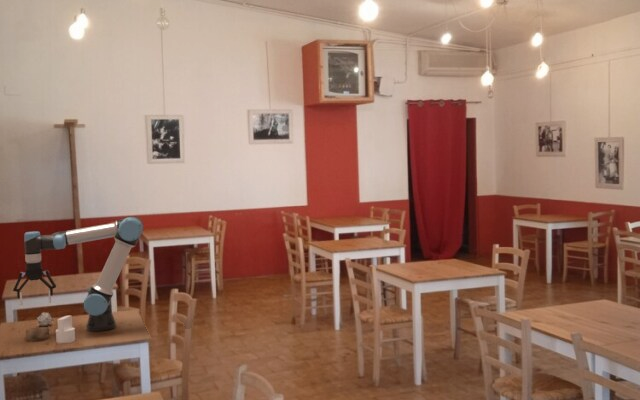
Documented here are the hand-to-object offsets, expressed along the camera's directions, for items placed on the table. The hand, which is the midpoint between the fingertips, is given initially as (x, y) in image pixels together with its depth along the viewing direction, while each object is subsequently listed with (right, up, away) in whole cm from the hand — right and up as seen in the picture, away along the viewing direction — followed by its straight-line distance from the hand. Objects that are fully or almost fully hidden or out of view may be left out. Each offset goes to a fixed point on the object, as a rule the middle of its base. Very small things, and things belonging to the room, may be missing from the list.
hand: (35, 303), depth 345 cm
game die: (-7, -18, +30) cm, 35 cm away
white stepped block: (+17, -18, -5) cm, 26 cm away
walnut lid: (+1, -19, +1) cm, 19 cm away
